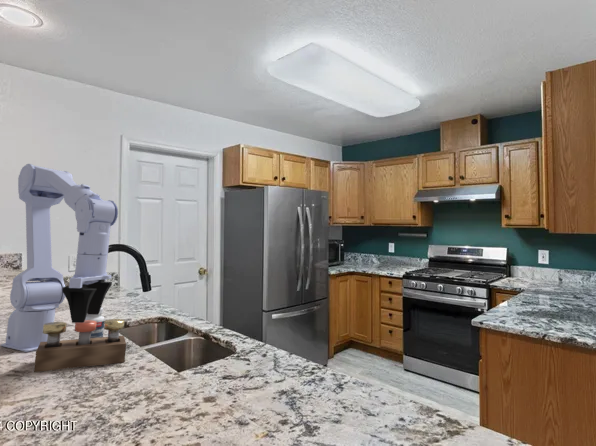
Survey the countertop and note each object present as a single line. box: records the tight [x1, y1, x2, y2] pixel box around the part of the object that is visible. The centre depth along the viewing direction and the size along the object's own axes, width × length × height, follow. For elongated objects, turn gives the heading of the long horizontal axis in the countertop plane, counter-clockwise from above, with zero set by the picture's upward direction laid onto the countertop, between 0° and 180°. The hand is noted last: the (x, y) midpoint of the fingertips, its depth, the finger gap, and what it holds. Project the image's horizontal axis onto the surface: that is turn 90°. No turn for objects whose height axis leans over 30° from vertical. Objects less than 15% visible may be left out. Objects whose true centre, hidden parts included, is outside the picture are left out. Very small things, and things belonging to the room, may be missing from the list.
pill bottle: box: [85, 307, 106, 338], centre depth 87 cm, size 5×5×9 cm
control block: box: [33, 335, 127, 373], centre depth 74 cm, size 16×7×4 cm, turn 121°
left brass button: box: [43, 321, 68, 348], centre depth 72 cm, size 4×4×5 cm
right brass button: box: [104, 318, 125, 343], centre depth 77 cm, size 4×4×5 cm
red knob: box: [74, 320, 97, 345], centre depth 75 cm, size 4×4×5 cm
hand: (86, 318), depth 73 cm, fingers open, 7 cm apart
